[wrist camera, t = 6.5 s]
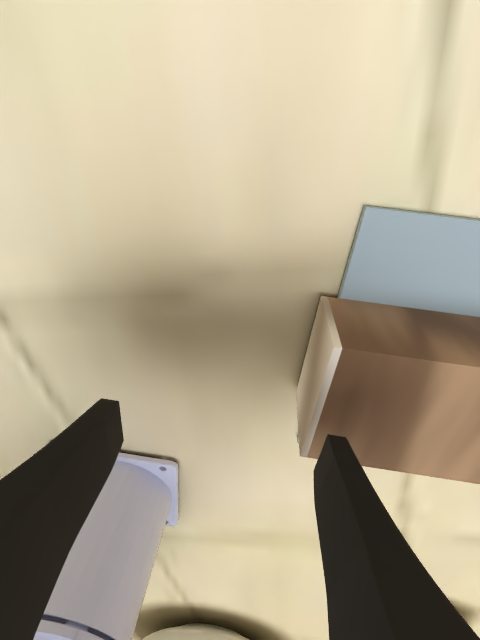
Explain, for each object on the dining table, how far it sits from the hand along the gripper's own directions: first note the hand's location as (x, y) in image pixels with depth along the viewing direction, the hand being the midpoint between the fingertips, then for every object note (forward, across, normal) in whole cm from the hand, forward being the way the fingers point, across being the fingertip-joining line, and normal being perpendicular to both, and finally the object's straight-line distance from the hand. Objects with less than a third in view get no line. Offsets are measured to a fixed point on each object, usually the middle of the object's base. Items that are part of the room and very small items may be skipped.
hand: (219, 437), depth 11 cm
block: (+4, -4, 0) cm, 5 cm away
